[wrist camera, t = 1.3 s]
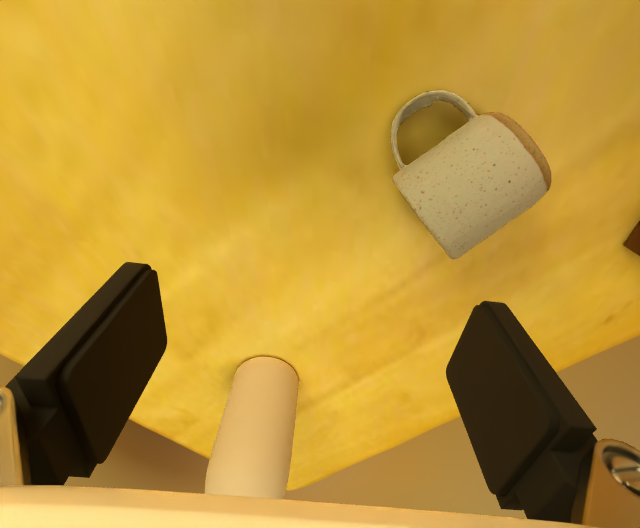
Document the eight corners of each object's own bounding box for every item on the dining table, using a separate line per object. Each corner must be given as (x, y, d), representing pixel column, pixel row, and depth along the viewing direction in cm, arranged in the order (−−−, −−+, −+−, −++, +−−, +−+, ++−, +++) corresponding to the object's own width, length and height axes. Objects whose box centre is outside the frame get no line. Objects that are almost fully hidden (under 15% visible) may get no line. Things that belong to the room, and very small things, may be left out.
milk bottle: (231, 353, 39) (154, 582, 22) (297, 354, 39) (271, 585, 22) (240, 396, 43) (182, 617, 26) (300, 397, 43) (280, 620, 26)
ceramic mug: (522, 171, 27) (582, 207, 21) (434, 232, 30) (461, 280, 24) (452, 57, 24) (498, 56, 17) (359, 139, 27) (368, 166, 20)
